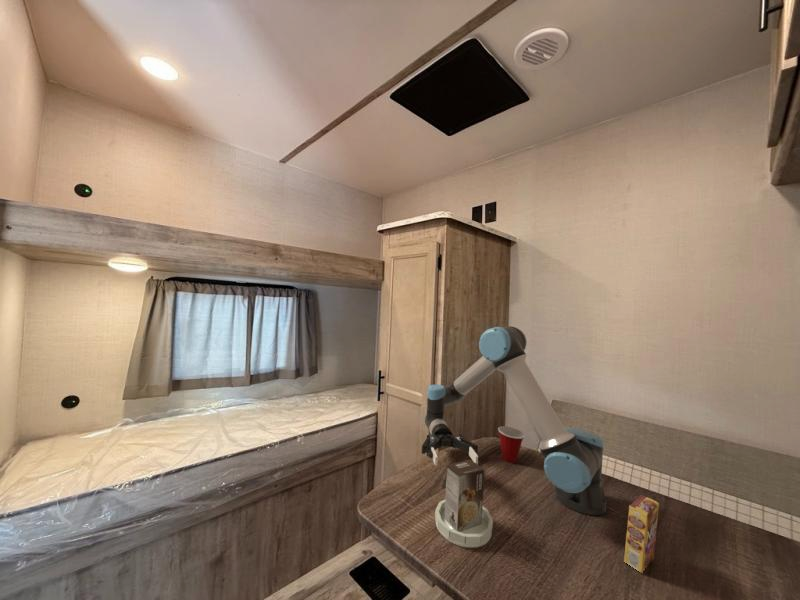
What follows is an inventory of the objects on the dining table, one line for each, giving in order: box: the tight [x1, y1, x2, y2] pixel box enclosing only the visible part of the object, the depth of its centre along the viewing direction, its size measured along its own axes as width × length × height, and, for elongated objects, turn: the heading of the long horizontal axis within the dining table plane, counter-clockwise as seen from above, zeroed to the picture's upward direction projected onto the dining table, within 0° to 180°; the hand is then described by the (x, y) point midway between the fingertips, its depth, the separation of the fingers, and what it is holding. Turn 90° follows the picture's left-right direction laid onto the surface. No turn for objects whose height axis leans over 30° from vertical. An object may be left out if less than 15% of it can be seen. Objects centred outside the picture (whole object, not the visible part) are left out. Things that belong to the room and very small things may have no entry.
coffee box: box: [444, 459, 485, 532], centre depth 88 cm, size 9×6×16 cm
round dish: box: [434, 498, 494, 549], centre depth 88 cm, size 16×16×3 cm
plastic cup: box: [497, 425, 526, 464], centre depth 127 cm, size 11×11×12 cm
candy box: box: [623, 494, 660, 574], centre depth 79 cm, size 9×4×15 cm, turn 125°
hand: (456, 461), depth 99 cm, fingers open, 13 cm apart
